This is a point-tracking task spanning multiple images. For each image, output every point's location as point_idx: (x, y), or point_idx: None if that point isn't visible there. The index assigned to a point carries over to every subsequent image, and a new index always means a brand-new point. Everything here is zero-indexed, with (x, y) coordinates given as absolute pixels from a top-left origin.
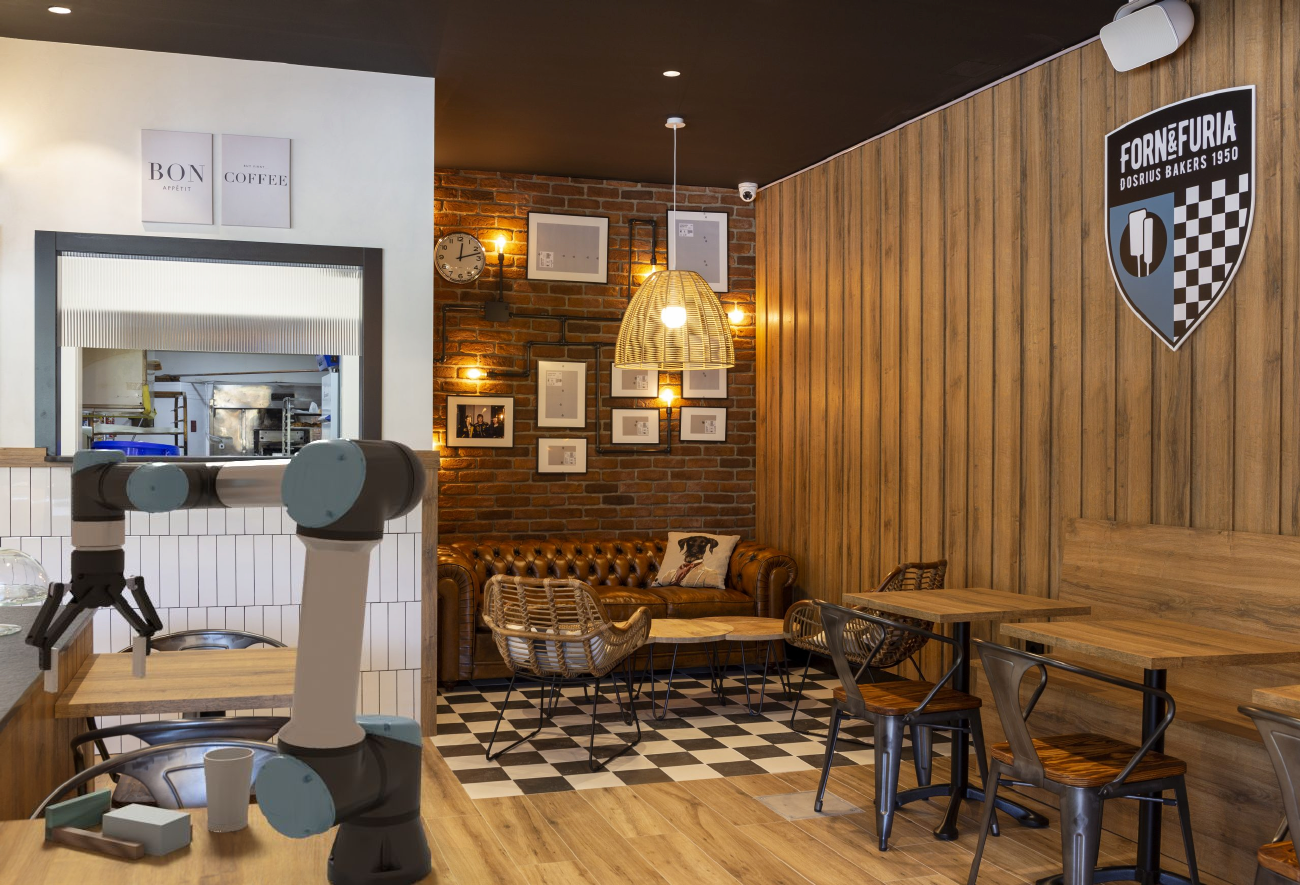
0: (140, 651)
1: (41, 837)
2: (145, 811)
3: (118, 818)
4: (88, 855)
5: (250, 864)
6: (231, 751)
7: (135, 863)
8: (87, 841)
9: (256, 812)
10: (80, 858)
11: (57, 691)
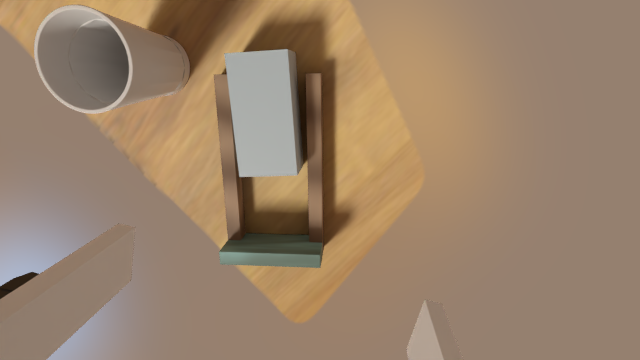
0: (58, 288)
1: None
2: (254, 129)
3: (294, 143)
4: (339, 147)
5: None
6: (60, 91)
7: (331, 62)
8: (322, 172)
9: None
10: (351, 148)
11: (424, 301)
